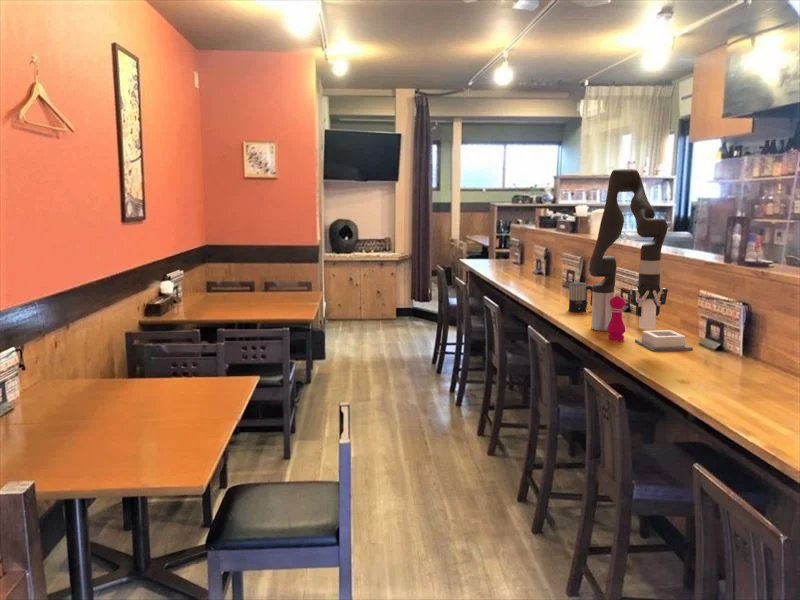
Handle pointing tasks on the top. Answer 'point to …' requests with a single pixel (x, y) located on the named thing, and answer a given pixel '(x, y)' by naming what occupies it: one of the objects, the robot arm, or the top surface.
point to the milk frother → (578, 296)
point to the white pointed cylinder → (647, 315)
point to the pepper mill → (616, 319)
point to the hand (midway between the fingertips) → (647, 315)
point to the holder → (663, 341)
